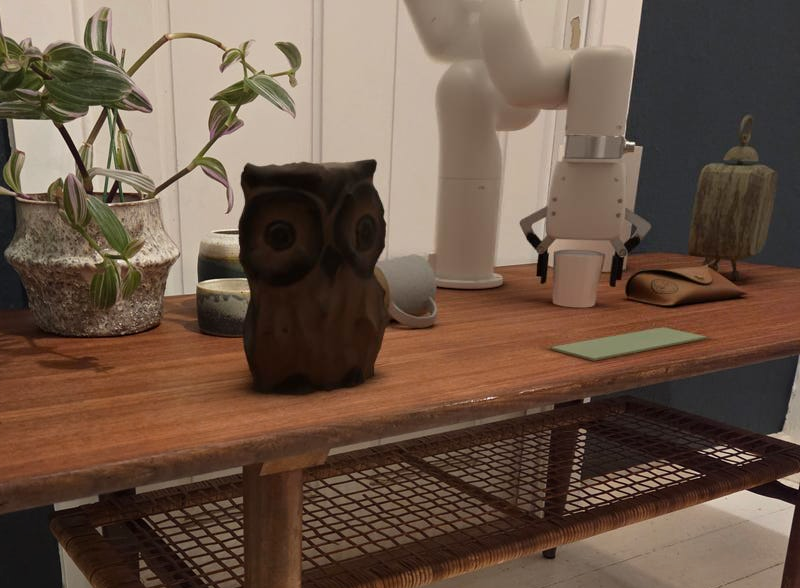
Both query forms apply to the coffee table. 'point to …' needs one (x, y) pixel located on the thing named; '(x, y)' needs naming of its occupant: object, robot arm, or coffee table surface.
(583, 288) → the white tapered cup
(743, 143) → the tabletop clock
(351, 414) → the coffee table surface
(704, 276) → the sunglasses case
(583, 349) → the edge strip
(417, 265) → the ceramic mug
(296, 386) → the owl
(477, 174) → the robot arm
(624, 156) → the canister
